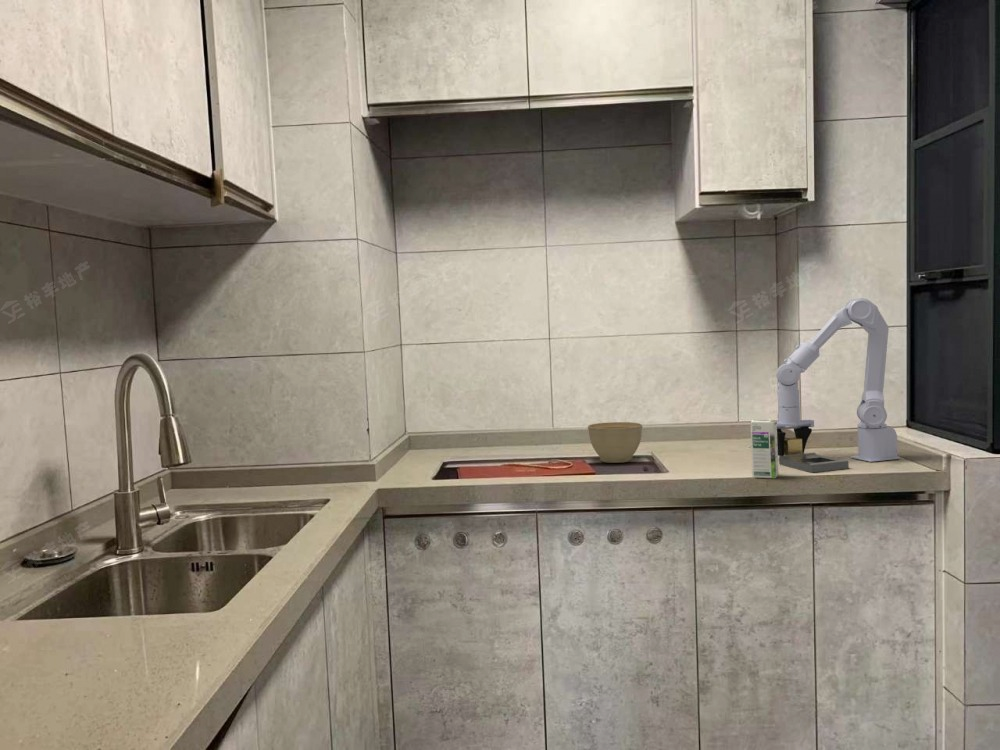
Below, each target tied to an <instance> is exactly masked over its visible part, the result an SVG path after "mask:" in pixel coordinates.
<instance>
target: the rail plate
mask: <svg viewBox="0 0 1000 750" xmlns="http://www.w3.org/2000/svg"><path fill="white" fill-rule="evenodd" d="M779 464H780V466H784V467H788V468H792V469H796V470H800V471H803V472H807V473H813V474H814V473H824V472H830V471H840V470H849V469H850V467H849V459H840V458H836V457H831V456H827V455H823V454H817V453H816V452H804V454H795V455H786V456H779V455H778V465H779Z"/></svg>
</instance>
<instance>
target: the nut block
mask: <svg viewBox="0 0 1000 750" xmlns="http://www.w3.org/2000/svg"><path fill="white" fill-rule="evenodd" d="M795 454H802V439H800V438H796V436H789V435H788V436H785V439H784V456H786V455H795Z"/></svg>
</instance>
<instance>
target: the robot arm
mask: <svg viewBox="0 0 1000 750" xmlns="http://www.w3.org/2000/svg"><path fill="white" fill-rule="evenodd" d="M853 323H854V324H857V325H859V326H860V327H861V328H862V329H863V330H864V331H866V333H867V335H868V336H867V347H866V357H865V358H866V359H865V371H864V379H863V380H864V381H863V390H862V391H863V392H862V395H861V400H860V403H859V405H858V406H857V408H856V415H857V418H858V419H859V420H860V421H859V423H858V424H857V451H858V452H857V455H851V456H850V458H851V459H854V460H855V459H856V460H860V461H865V462H871V463H874V462H882V461H891V460H900V459H901V457H900V456H899V455H898V452H899V451H898V434H897V430H896V429H895V428H894V427H893V426H890V425H887V424H886V421H887V418H888V413H887V410H886V408H885V396H884V386H885V385H884V384H885V376H886V375H885V374H886V362H887V351H888V340H889V325H888V324H887V321H886V320H885V319H884V317H883V315H882V313H881V312H880V310H879V308H878V306H877V305H876V304H874V303H873V302H872V301H871V300H869V299H868V298H864V297H859V298H853V299H851V300H849V301H848V302H847V303H846V304H845V306H842V307H841V308H840V309H839V310H837V311H836V312H835V313H834V314H833V315H832V316H831V317H830V319H828V321H827V322H826V323H825V324H824V325H823V326H822V328H821V329H820V330H818V332H817V333H816V335H814V337H813V338H812V339H811V340H810V341H804V342H802V343H801V344H797V345H796V346H795V350H794V351H793V353H792V354H791V355H789V357H787V358H785V359H784V360H783V362H784V363H783V364H781V365H780V366H778V368H777V370H776V373H775V377H776V379H777V380H778V383H777V391H776V392H777V412H778V413H777V414H778V415H777V416H778V421H777V445H778V457H779V456H784V439H785V437H786V434H787V433H786V432H784V431H783V430H793V432H794V435H795V436H794V437H796V438H800V439H802V454H804V453H805V450H806V446H807V442H808V440H809V438H810V436H811V434H812V432H813V431H812V428H815V420H813V419H801V405H800V403H801V402H800V401H801V400H800V390H799V381H800V378H801V374H803V373H805V372H806V371H807V370H808V369H809V368H810V367H811V365H812V364H814V362H815V361H816V360H817V359H818V358H819V357H820V349H821V348H822V347H823V346H824V345H825V344H826V343H827V342H828V341H829V340H830V339H831V337H833V336H834V335H835V333H836V332H837V331H839V330H840V329H841V328H844V327H846V326H849V325H852V324H853Z"/></svg>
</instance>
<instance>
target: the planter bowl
mask: <svg viewBox="0 0 1000 750" xmlns="http://www.w3.org/2000/svg"><path fill="white" fill-rule="evenodd" d="M587 430H588V435H589V441H590V443H591V446H592V448H593V450H594V451H595V453H596V454H597V455H598V457H599V460H600V462H603V463H609V464H610V463H614V464H617V463H623V464H624V463H627V462H631V461H632V460H633V457H634V455H635V453H636V452H637V450H638V448H639V446H640V444H641V441H642V440H641V439H642V434H643V433H642V430H643V423H639V422H630V421H618V422H617V421H615V422H612V421H611V422H599V423H598V422H597V423H592V424H588V426H587Z"/></svg>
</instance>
